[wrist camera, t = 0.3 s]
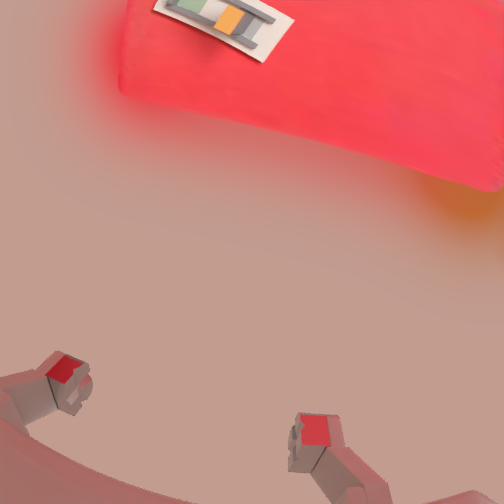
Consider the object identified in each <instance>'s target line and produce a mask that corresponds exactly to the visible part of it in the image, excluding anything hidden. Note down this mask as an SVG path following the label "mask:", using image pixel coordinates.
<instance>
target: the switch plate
mask: <svg viewBox="0 0 504 504" xmlns="http://www.w3.org/2000/svg"><path fill="white" fill-rule="evenodd" d="M228 5H231V6H233V7H235V8H238V9H241V10H244V11H246V12H248V13H250V14H252V15H254V16H255V18H254V19H253V20H252V22H251V23H250V25H249V26H248V27H247V29H246V30H245V32H244V33H243V34H231V35H228V34H226V33H224V32H222V31H220V30H218V29H216V28H214V25H215V24H216V22H217V21H218V19H219V18H220V16H221V15H222V13H223V12H224V10H225V9H226V7H227V6H228ZM153 10H156V11H158V12H161V13H163V14H166V15H168V16H171V17H173V18H175V19H178V20H180V21H182V22H185V23H187V24H189V25H191V26H194V27H196V28H198V29H200V30H202V31H204V32H206V33H208V34H211V35H213V36H215V37H217V38H219V39H221V40H222V41H224V42H226V43H228V44H230V45H232V46H234V47H236V48H238V49H239V50H241V51H243V52H245V53H247V54H248V55H250V56H252V57H254V58H255V59H257V60H259V61H260V62H262V63H263V62H264V61H265V60H266V59H267V57H268V56H269V54H270V53H271V52H272V50H273V49H274V47H275V46H276V45H277V43H278V42H279V41H280V39H281V38H282V37H283V35H284V34H285V33H286V31H287V30H288V29H289V28H290V26H291V25H292V24H293V22H294V21H295V20H293V19H291V18H290V17H288V16H286V15H285V14H283V13H281V12H279V11H277V10H276V9H274V8H272V7H270V6H268V5H266V4H264V3H263V2H261V1H259V0H158V2H157V3H156V5H155V7H154V9H153Z"/></svg>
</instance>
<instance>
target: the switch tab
mask: <svg viewBox="0 0 504 504" xmlns="http://www.w3.org/2000/svg"><path fill="white" fill-rule="evenodd" d="M254 18H255V16H254V15H252V14H250V13H248V12H246V11H244V10H241V9H238V8H235V7H233V6H231V5H228V6H227V7H226V9H225V10H224V12H223V13H222V15H221V16H220V18H219V19H218V21H217V22H216V24H215V25H214V28H216V29H218V30H220V31H222V32H224V33H226V34H228V35H231V34H243V33H244V32H245V30H246V29H247V27H248V26H249V25H250V23H251V22H252V20H253V19H254Z"/></svg>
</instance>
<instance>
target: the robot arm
mask: <svg viewBox="0 0 504 504" xmlns="http://www.w3.org/2000/svg"><path fill="white" fill-rule="evenodd" d="M89 371H90V368H89V364H88V363H86V362H84V361H81V360H79V359H77V358H74V357H72V356H70V355H68V354H65V353H63V352H60V351H55V352H54V353H53V354H52V355H51V356H50V357H49V358H47V359H46V360H45V361H44V362H43V363H42V364H41V365H40V366H39V367H38V368H37V369H36V370H33V369H31V370H28V371H24V372H20V373H16V374H12V375H8V376H4V377H0V504H196V503H192V502H187V501H183V500H179V499H175V498H172V497H168V496H164V495H161V494H157V493H154V492H151V491H148V490H144V489H142V488H139V487H136V486H133V485H130V484H127V483H124V482H122V481H119V480H117V479H114V478H112V477H109V476H107V475H104V474H102V473H99V472H97V471H95V470H93V469H90V468H88V467H85V466H84V465H82V464H79V463H77V462H75V461H73V460H71V459H69V458H67V457H66V456H64V455H62V454H60V453H58V452H56V451H54V450H52V449H50V448H49V447H47V446H45V445H44V444H42V443H40V442H39V441H37V440H35V439H34V438H32V437H30V435H29V432H28V430H27V429H26V427H25V425H27V424H29V423H31V422H33V421H35V420H37V419H40V418H42V417H44V416H46V415H48V414H50V413H52V412H55V411H57V410H58V409H59V410H61V411H64V412H66V413H68V414H71V415H73V416H75V415H76V414H77V412H78V411H79V409H80V408H81V407H82V403H81V401H84V400H87V399H88V397H89V396H90V394H91V391H92V386H93V383H92V378H91V377H90V376H89V375H88V372H89ZM288 449H289V450H290V452H291V453H290V455H289V457H288V471H289V472H299V473H311V476H312V477H313V479H314V480H315V481H316V483H317V484H318V486H319V487H320V488H321V490H322V491H323V493H324V494H325V495H326V497H327V498H328V499H329V501H330V502H331V503H332V504H392V499H391V495H390V490H389V486H388V483H386V482H385V480H383V479H382V478H381V477H380V476H379V475H378V474H377V473H376V472H375V471H374V470H372V469H371V468H370V467H369V466H368V465H367V464H366V463H365V462H364V461H363V460H362V459H361V458H360V457H359V456H358V455H357V454H355V453H354V452H353V451H352V450H351V449H350V448H349V447H345V443H344V438H343V432H342V428H341V422H340V418H339V416H338V415H324V414H311V413H298V414H297V416H296V418H295V425H294V426H293V427H292V428H291V431H290V435H289V441H288ZM424 504H497V503H496V502H494V501H493V500H491V499H490V498H488V497H487V496H485V495H484V494H482V493H480V492H478V491H475V490H472V491H467V492H464V493H460V494H457V495H454V496H451V497H447V498H444V499H440V500H436V501H432V502H428V503H424Z"/></svg>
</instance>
